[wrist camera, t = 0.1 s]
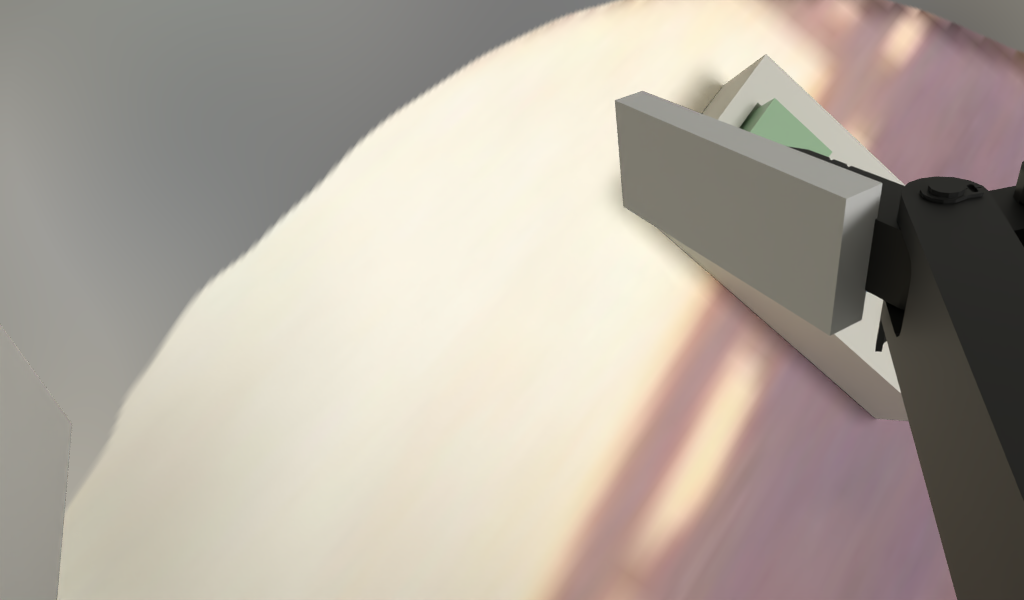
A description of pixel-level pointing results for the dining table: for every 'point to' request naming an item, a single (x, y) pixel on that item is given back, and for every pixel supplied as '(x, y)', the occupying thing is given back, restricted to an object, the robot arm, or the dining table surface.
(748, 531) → the dining table surface
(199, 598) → the dining table surface
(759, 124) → the key sage
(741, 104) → the key panel
